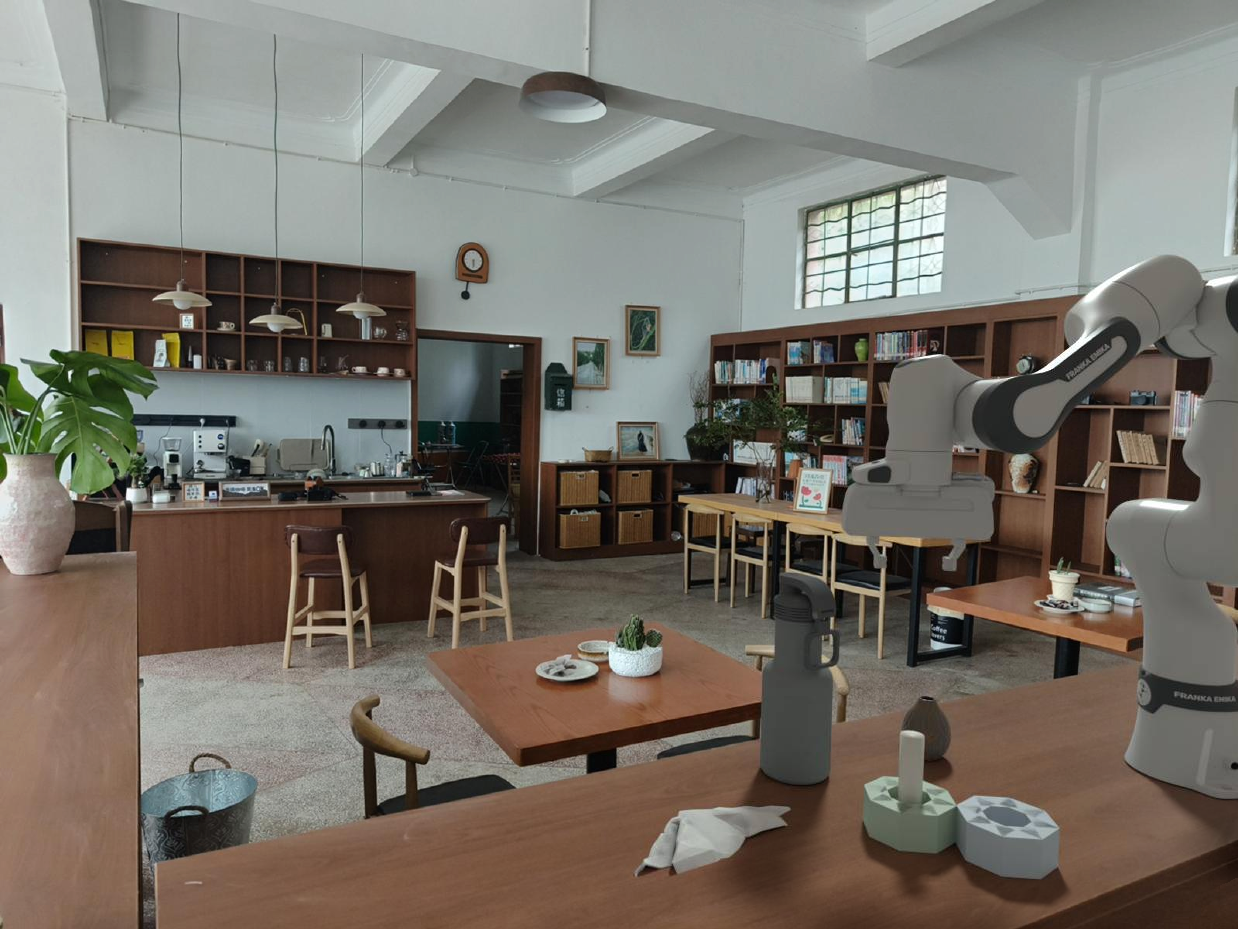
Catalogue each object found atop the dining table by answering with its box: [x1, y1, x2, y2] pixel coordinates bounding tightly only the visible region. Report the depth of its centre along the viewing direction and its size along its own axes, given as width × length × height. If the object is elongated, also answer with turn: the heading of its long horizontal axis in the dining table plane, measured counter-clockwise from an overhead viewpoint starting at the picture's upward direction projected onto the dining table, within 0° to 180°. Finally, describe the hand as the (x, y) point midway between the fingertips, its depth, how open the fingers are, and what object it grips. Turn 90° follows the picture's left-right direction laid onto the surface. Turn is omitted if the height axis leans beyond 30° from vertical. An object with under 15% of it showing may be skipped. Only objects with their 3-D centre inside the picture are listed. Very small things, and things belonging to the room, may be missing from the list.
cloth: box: [634, 805, 792, 878], centre depth 99 cm, size 26×14×2 cm, turn 117°
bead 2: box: [954, 795, 1061, 880], centre depth 96 cm, size 10×10×4 cm
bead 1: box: [862, 776, 958, 855], centre depth 101 cm, size 10×10×4 cm
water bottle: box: [759, 571, 841, 786], centre depth 116 cm, size 10×10×28 cm
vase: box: [901, 695, 952, 762], centre depth 124 cm, size 7×7×9 cm
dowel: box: [898, 730, 925, 805], centre depth 101 cm, size 3×3×12 cm
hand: (914, 569), depth 117 cm, fingers open, 8 cm apart
